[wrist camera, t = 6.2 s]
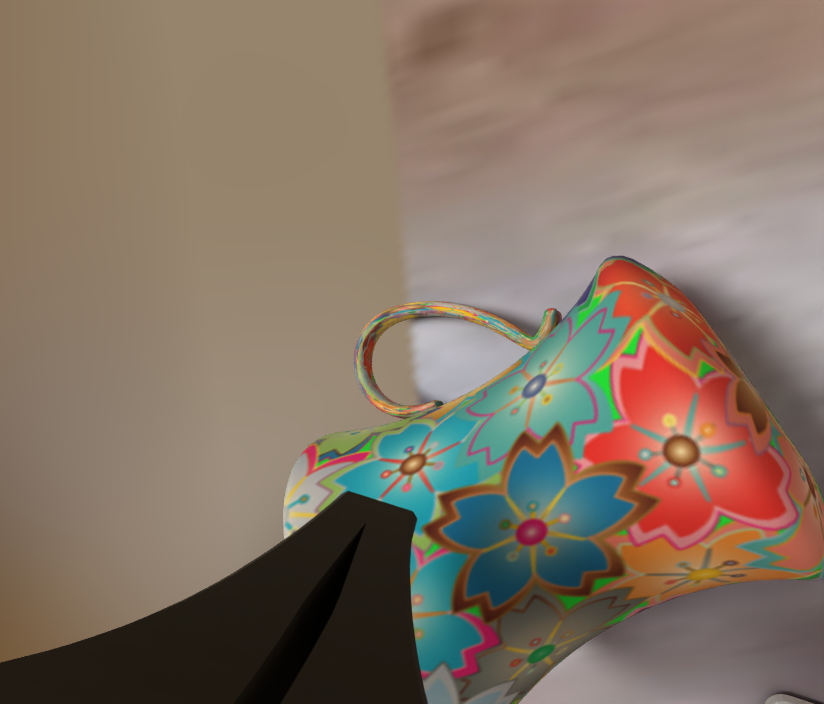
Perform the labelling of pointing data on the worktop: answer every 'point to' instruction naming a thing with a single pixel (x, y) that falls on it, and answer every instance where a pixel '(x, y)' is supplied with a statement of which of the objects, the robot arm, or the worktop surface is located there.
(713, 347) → the mug
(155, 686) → the robot arm
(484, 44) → the worktop surface
